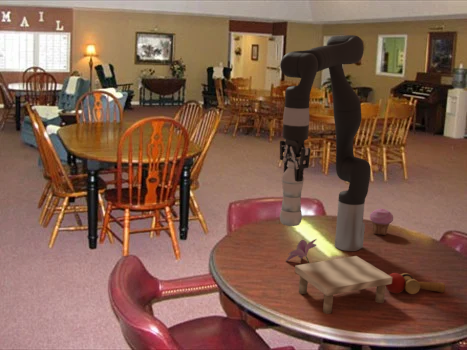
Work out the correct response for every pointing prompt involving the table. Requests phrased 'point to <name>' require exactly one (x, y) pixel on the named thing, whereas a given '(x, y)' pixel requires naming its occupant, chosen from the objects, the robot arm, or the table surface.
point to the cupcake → (381, 220)
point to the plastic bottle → (291, 197)
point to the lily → (302, 249)
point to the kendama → (411, 284)
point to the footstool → (342, 278)
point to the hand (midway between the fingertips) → (292, 178)
